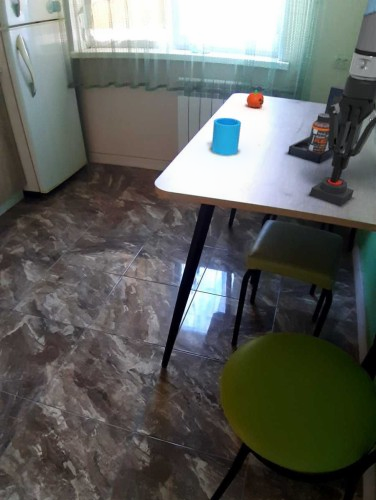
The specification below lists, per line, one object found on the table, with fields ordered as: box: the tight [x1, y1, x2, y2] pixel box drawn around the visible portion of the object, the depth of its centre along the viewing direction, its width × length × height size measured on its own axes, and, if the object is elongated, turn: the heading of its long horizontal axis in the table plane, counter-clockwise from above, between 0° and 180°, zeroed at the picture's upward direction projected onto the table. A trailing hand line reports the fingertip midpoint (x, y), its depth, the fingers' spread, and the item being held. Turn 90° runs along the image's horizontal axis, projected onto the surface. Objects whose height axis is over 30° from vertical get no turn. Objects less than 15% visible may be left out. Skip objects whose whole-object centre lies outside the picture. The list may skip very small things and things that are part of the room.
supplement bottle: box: [306, 112, 330, 154], centre depth 132 cm, size 6×6×11 cm
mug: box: [211, 117, 242, 156], centre depth 132 cm, size 13×9×9 cm
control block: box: [309, 176, 355, 207], centre depth 110 cm, size 9×7×4 cm
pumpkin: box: [246, 89, 265, 108], centre depth 170 cm, size 7×8×6 cm
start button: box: [327, 179, 342, 186], centre depth 109 cm, size 4×4×2 cm
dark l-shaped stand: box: [287, 84, 365, 164], centre depth 134 cm, size 12×28×16 cm, turn 140°
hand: (334, 180), depth 108 cm, fingers closed
